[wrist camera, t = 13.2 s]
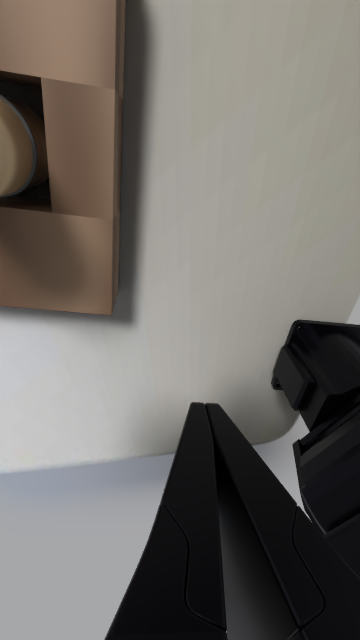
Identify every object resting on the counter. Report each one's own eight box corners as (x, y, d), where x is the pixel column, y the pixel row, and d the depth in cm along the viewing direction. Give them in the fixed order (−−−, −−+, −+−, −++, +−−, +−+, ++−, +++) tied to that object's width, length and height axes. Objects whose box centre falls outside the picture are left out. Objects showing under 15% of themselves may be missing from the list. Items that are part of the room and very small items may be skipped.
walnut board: (127, -63, 12) (117, -121, 9) (117, 293, 20) (111, 315, 17) (-176, -130, 11) (-281, -218, 8) (-59, 277, 19) (-95, 297, 16)
